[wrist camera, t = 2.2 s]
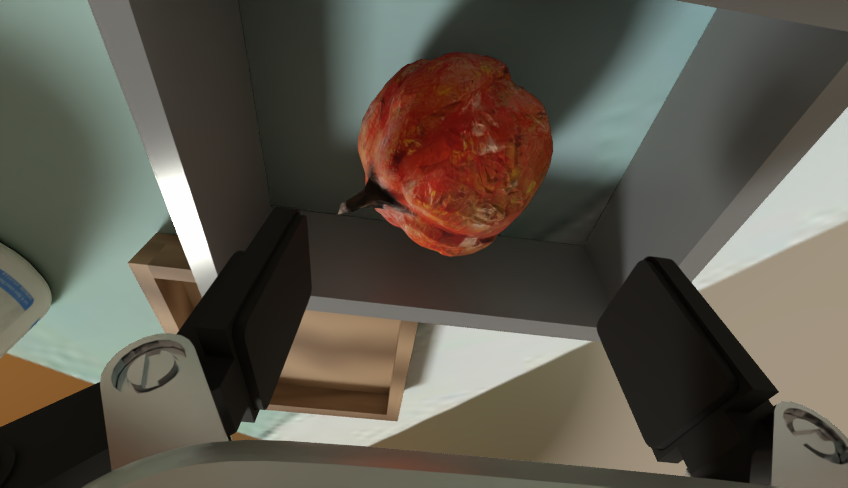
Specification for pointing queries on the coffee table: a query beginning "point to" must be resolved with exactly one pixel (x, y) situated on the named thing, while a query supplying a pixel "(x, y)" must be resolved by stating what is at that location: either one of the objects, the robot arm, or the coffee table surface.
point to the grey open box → (506, 256)
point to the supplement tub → (19, 298)
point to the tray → (299, 344)
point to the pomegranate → (452, 152)
